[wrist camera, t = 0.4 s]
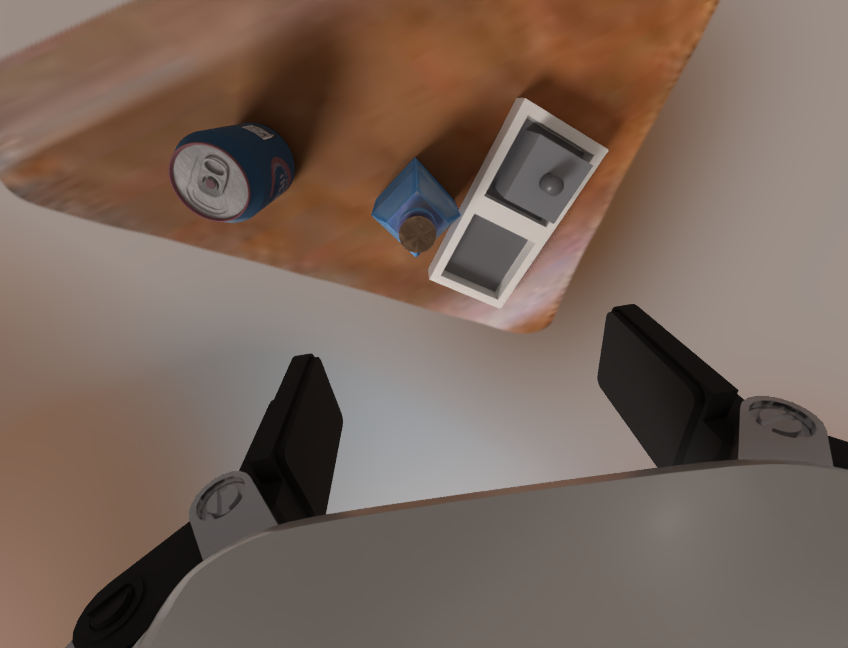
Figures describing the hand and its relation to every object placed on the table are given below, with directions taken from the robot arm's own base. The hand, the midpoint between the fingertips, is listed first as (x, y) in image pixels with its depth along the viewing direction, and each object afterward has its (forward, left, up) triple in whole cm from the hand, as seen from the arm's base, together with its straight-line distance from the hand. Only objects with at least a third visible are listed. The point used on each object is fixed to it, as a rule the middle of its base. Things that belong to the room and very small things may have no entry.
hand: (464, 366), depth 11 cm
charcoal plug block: (-5, +10, -31) cm, 33 cm away
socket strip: (0, +10, -32) cm, 33 cm away
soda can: (+6, -16, -32) cm, 36 cm away
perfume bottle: (+3, 0, -32) cm, 32 cm away
